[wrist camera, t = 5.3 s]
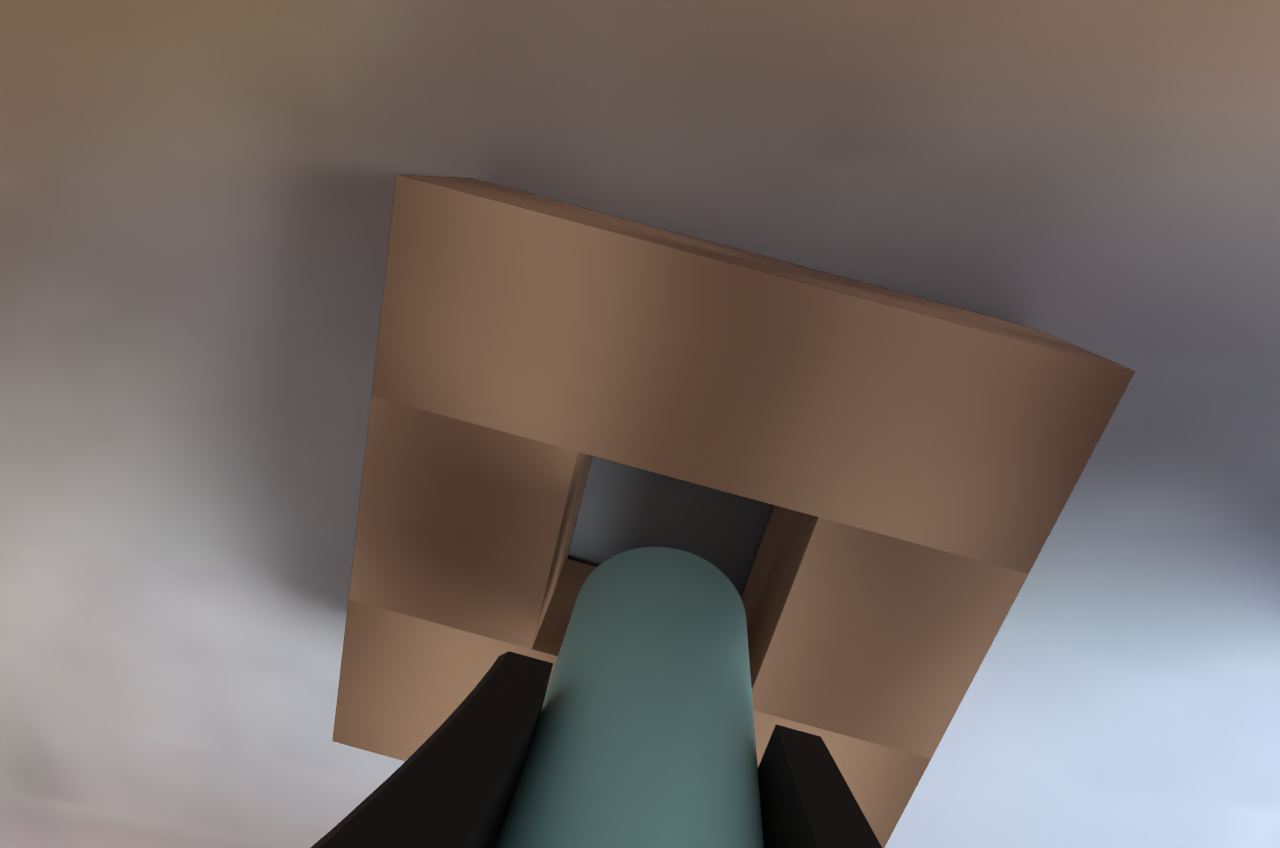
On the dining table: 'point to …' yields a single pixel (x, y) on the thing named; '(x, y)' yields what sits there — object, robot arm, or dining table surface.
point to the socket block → (698, 466)
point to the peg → (645, 716)
